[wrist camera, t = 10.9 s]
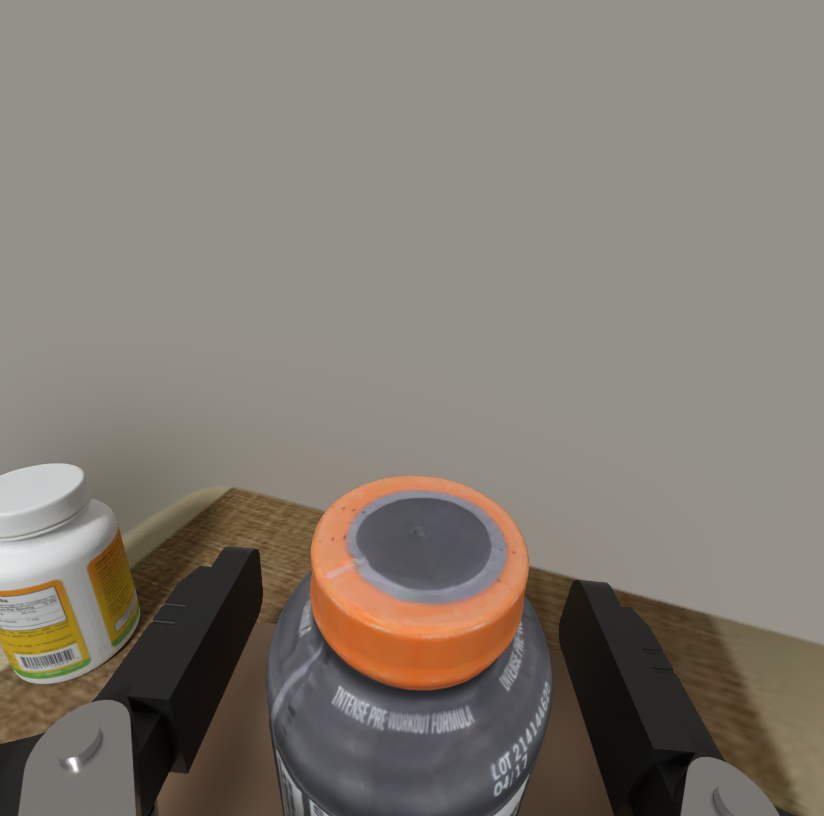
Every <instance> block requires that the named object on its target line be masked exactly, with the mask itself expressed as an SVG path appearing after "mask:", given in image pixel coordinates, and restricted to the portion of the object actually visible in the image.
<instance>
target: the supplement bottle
mask: <svg viewBox="0 0 824 816" xmlns="http://www.w3.org/2000/svg"><path fill="white" fill-rule="evenodd" d="M139 618H140V606H139V601H138V597H137V594H136V590H135V586H134V583H133V579H132V575H131V571H130V568H129V564H128V560H127V557H126V553H125V549H124V545H123V541H122V538H121V534H120V530H119V527H118V523H117V520H116V518H115V515H114V513H113V511H112V510H111V509H110V508H109V507H108V506H107V505H106V504H104V503H102V502H100V501H97V500H94V499H91V492H90V487H89V485H88V482H87V479H86V476H85V473H84V472H83V470H82V469H80V468H78V467H77V466H74V465H70V464H43V465H36V466H31V467H27V468H23V469H18V470H15V471H12V472H9V473H6V474H4V475H1V476H0V644H1V646H2V648H3V650H4V652H5V654H6V656H7V658H8V660H9V662H10V664H11V666H12V668H13V669H14V671H15V673H16V674H17V675H18V676H19V677H20V678H22V679H23V680H25V681H28V682H31V683H36V684H52V683H59V682H63V681H67V680H70V679H73V678H76V677H79V676H81V675H83V674H86V673H88V672H90V671H91V670H93V669H95V668H97V667H98V666H100V665H101V664H103V663H104V662H106V661H107V660H108V659H110V658H111V657H112V656H113V655H114V654H116V653H117V652H118V651H119V650H120V649H121V648H122V647H123V646H124V645H125V643H126V642H127V641H128V640H129V638H130V637H131V636H132V634H133V633H134V631H135V629H136V627H137V625H138V622H139Z"/></svg>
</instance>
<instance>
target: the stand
mask: <svg viewBox="0 0 824 816" xmlns="http://www.w3.org/2000/svg"><path fill="white" fill-rule="evenodd" d="M275 626H276V624H271V623H260V622H256V623H255V625H254V627H253V630H252V632H251V634H250V636H249V639H248V641H247V643H246V645H245V648H244V650H243V652H242V654H241V656H240V659H239V661H238V663H237V665H236V668H235V670H234V672H233V674H232V677H231V679H230V681H229V683H228V686H227V688H226V690H225V692H224V694H223V697H222V699H221V701H220V703H219V706H218V708H217V710H216V712H215V715H214V717H213V719H212V721H211V724H210V726H209V728H208V730H207V732H206V735H205V737H204V739H203V741H202V744H201V746H200V748H199V750H198V753H197V755H196V757H195V759H194V762H193V764H192V766H191V768H190V770H189V773H188V774H183V773H173V772H169V774H168V776H167V778H166V780H165V782H164V784H163V786H162V788H161V791H160V793H159V795H158V797H157V803H158V813H159V816H284V815H283V809H282V802H281V797H280V790H279V785H278V779H277V772H276V765H275V759H274V753H273V748H272V742H271V734H270V729H269V711H268V703H267V691H266V668H267V659H268V653H269V647H270V643H271V639H272V636H273V633H274V629H275ZM549 653H550V658H551V664H552V674H553V698H552V707H551V713H550V716H549V722H548V726H547V729H546V733H545V736H544V739H543V742H542V745H541V748H540V752H539V755H538V758H537V762H536V764H535V767H534V769H533V771H532V774H531V778H530V781H529V784H528V786H527V789H526V792H525V795H524V798H523V801H522V804H521V807H520V811H519V814H518V816H614V814H613V811H612V808H611V805H610V801H609V798H608V795H607V792H606V789H605V786H604V782H603V779H602V776H601V773H600V770H599V767H598V764H597V760H596V757H595V754H594V751H593V748H592V745H591V741H590V738H589V735H588V732H587V729H586V726H585V722H584V719H583V716H582V713H581V710H580V707H579V703H578V700H577V697H576V694H575V691H574V688H573V684H572V681H571V678H570V675H569V672H568V669H567V666H566V662H565V659H564V656H563V653H562V650H553V649H549Z"/></svg>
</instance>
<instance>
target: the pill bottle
mask: <svg viewBox="0 0 824 816" xmlns="http://www.w3.org/2000/svg"><path fill="white" fill-rule="evenodd" d="M311 567H312V570H311V571H310V572H309V573H308V574H307V575H306V576H305V577H304V579H303V580H302V581H301V582H300V583H299V585H298V586H297V587H296V589H295V590H294V591H293V593H292V594H291V596H290V598H289V599H288V601H287V603H286V604H285V606H284V608H283V610H282V612H281V614H280V616H279V619H278V621H277V623H276V626H275V629H274V633H273V636H272V639H271V643H270V647H269V653H268V659H267V668H266V691H267V703H268V711H269V729H270V734H271V742H272V748H273V753H274V759H275V765H276V772H277V779H278V785H279V790H280V797H281V802H282V809H283V815H284V816H518V814H519V811H520V807H521V804H522V801H523V798H524V795H525V792H526V789H527V786H528V784H529V781H530V778H531V774H532V771H533V769H534V767H535V764H536V762H537V758H538V755H539V752H540V748H541V745H542V742H543V739H544V736H545V733H546V729H547V726H548V722H549V716H550V713H551V707H552V698H553V674H552V664H551V658H550V653H549V649H548V645H547V641H546V637H545V633H544V631H543V629H542V626H541V624H540V621H539V619H538V617H537V615H536V613H535V611H534V609H533V607H532V605H531V603H530V601H529V600H528V598H527V597H526V596H525V589H526V585H527V580H528V572H529V558H528V551H527V547H526V543H525V540H524V538H523V536H522V534H521V532H520V530H519V528H518V526H517V525H516V522H515V521H514V520H513V519H512V518H511V517H510V515H509V514H508V513H507V512H506V511H505V510H504V509H503V508H502V507H501V506H499V505H498V504H497V503H495V502H494V501H493V500H491V499H490V498H488V497H487V496H485V495H484V494H482V493H480V492H479V491H477V490H474V489H472V488H470V487H468V486H466V485H463V484H460V483H458V482H454V481H450V480H446V479H440V478H435V477H428V476H398V477H389V478H385V479H381V480H376V481H373V482H370V483H367V484H364V485H362V486H359V487H357V488H355V489H353V490H351V491H350V492H348V493H346V494H345V495H343V496H342V497H341V498H339V499H338V500H337V501H336V502H334V503H333V504H332V505H331V506H330V508H329V509H328V510H327V511H326V512H325V513H324V515H323V516H322V518H321V519H320V521H319V523H318V525H317V527H316V530H315V533H314V537H313V540H312V545H311Z"/></svg>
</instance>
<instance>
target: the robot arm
mask: <svg viewBox="0 0 824 816" xmlns="http://www.w3.org/2000/svg"><path fill="white" fill-rule="evenodd" d="M262 599H263V587H262V576H261V565H260V554H259V551H258V549H254V548H243V547H232V546H227V547H225V548H224V549H223V550H222V551H221V553H220V554H219V556H218V558H217V559H216V561H215V562H214V564H213V565H212V567H204V566H199V567H198V568H197V569H196V570H194V571H193V572H192V573H191V574H189V575H188V576H187V577H185V578H184V579H183V580H182V581H180V582H179V584H178V585H177V586H176V588H175V589H174V590H173V592H172V593H171V595H170V596H169V597H168V599H167V600H166V602H165V605H164V606H162V607H161V609H160V610H159V611H158V613H157V614H156V616H155V617H154V618H153V622H152V623H150V624H149V625H148V627H147V628H146V630H145V631H144V632H143V634H142V635H141V636H140V638H139V639H138V641H137V642H136V643H135V645H134V646H133V648H132V649H131V650H130V652H129V653H128V655H127V656H126V657H125V659H124V660H123V662H122V663H121V664H120V666H119V667H118V669H117V670H116V671H115V673H114V674H113V676H112V677H111V678H110V680H109V681H108V682H107V684H106V685H105V687H104V688H103V689H102V691H101V692H100V693H99V694H98V696H97V697H96V698H95V699H94V700H93V701H92V702H91V703H88V704H86V705H83V706H81V707H79V708H77V709H75V710H73V711H72V712H70V713H68V714H67V715H65V716H64V717H63V718H61V719H60V720H59V721H57V722H56V723H55V724H54V725H53V726H52V727H51V728H50V729H48V730H47V732H45V733H42V734H39V735H36V736H32V737H28V738H24V739H20V740H16V741H12V742H8V743H4V744H0V816H159V813H158V803H157V797H158V795H159V793H160V791H161V788H162V786H163V784H164V782H165V780H166V778H167V776H168V774H169V772H173V773H183V774H188V773H189V770H190V768H191V766H192V764H193V762H194V759H195V757H196V755H197V753H198V750H199V748H200V746H201V744H202V741H203V739H204V737H205V735H206V732H207V730H208V728H209V726H210V724H211V721H212V719H213V717H214V715H215V712H216V710H217V708H218V706H219V703H220V701H221V699H222V697H223V694H224V692H225V690H226V688H227V686H228V683H229V681H230V679H231V677H232V674H233V672H234V670H235V668H236V665H237V663H238V661H239V659H240V656H241V654H242V652H243V650H244V648H245V645H246V643H247V641H248V639H249V636H250V634H251V632H252V630H253V627H254V625H255V623H256V621H257V618H258V616H259V613H260V609H261V605H262ZM559 640H560V646H561V650H562V653H563V656H564V659H565V662H566V666H567V669H568V672H569V675H570V678H571V681H572V684H573V688H574V691H575V694H576V697H577V700H578V703H579V707H580V710H581V713H582V716H583V719H584V722H585V726H586V729H587V732H588V735H589V738H590V741H591V745H592V748H593V751H594V754H595V757H596V760H597V764H598V767H599V770H600V773H601V776H602V779H603V782H604V786H605V789H606V792H607V795H608V798H609V801H610V805H611V808H612V811H613V814H614V816H794V815H792V814H790V813H788V812H785V811H783V810H781V809H779V808H777V807H775V806H774V805H773V804H772V803H771V801H770V800H769V799H768V797H767V796H766V795H765V794H764V793H763V791H762V790H761V789H760V788H759V787H758V786H757V785H756V784H755V783H754V782H753V781H752V780H751V779H750V778H748V777H747V776H746V775H745V774H744V773H742V772H741V771H740V770H738V769H737V768H735V767H733V766H732V765H730V764H728V763H726V761H725V760H724V758H723V757H722V755H721V754H720V752H719V750H718V749H717V747H716V745H715V743H714V741H713V740H712V738H711V736H710V734H709V732H708V731H707V729H706V727H705V725H704V723H703V722H702V720H701V718H700V716H699V715H698V713H697V711H696V709H695V707H694V706H693V704H692V702H691V700H690V698H689V697H688V695H687V693H686V691H685V689H684V688H683V686H682V684H681V682H680V681H679V679H678V677H677V675H676V674H674V673H673V668H672V666H671V664H670V663H669V661H668V659H667V657H666V655H663V652H662V651H663V650H662V648H661V646H660V645H659V643H658V641H657V639H656V638H655V636H654V634H653V632H652V630H651V629H650V627H649V626H648V625H647V624H646V623H645V622H644V621H643V620H642V619H641V618H640V617H639V616H638V615H637V614H636V613H635V612H634V611H633V609H632V608H628V607H621V605H620V603H619V601H618V599H617V597H616V595H615V594H614V592H613V590H612V588H611V586H610V585H609V584H608V583H605V582H594V581H584V580H575V581H574V582H573V583H572V585H571V588H570V592H569V595H568V598H567V601H566V604H565V607H564V610H563V613H562V616H561V619H560V623H559Z"/></svg>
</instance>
